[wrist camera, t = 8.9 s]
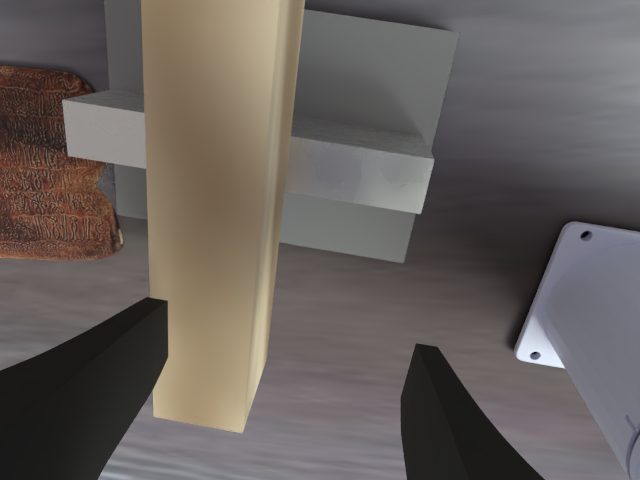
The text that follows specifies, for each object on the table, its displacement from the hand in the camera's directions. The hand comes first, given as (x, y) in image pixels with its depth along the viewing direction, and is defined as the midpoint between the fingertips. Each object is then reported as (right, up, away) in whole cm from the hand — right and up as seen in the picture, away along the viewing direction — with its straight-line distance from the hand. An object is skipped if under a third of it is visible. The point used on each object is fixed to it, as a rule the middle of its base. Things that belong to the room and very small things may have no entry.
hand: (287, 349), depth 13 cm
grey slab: (-1, +8, +8) cm, 11 cm away
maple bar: (-2, +5, +3) cm, 7 cm away
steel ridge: (-1, +8, +6) cm, 10 cm away
